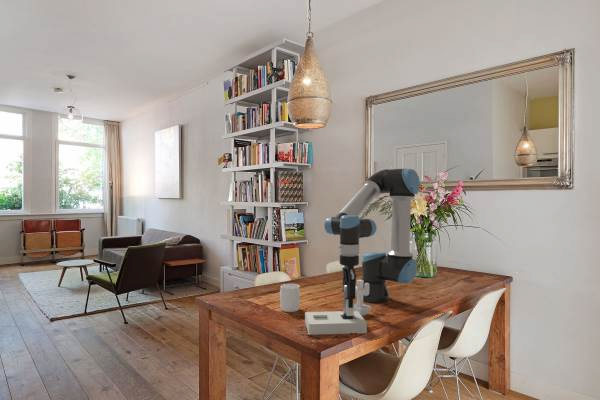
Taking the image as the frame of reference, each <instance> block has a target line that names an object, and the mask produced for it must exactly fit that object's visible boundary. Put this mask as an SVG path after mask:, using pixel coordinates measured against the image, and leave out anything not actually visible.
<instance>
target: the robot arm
mask: <svg viewBox="0 0 600 400" xmlns="http://www.w3.org/2000/svg"><path fill="white" fill-rule="evenodd" d="M420 188H421V181H420V176H419V175H418V173H417V171H416V170H415V169H412V168H393V169H390V168H389V169H386V168H385V169H382V170H379V171H377V172H375V173H374V174H372V175H370V176H369V177H368V178H367V179H366V180H365V181H364V182H363V183H362V186H361V188H360V189H359V190H358V192H356V194H355V195H353V197H352V198H351V199H350V200H349V201H348V202H347V203H346V204H345V206H343V208H342V209H341V210H340V211H339V212H338V213H337V215H335V216H331V217H326V219H325V221H324V224H323V225H324V229H325V232H326V233H327V234H330V235H335V236H339V245H338V249H339V254H340V255H339V264H340V265H341V266H344V267H342V268H341V269H342V292H343V293H344V285H345V284H347V298H345V299H347V300H346V315H347V316H354V304H355V302H354V301H355V299H356V297H355V290H356V285H357V274H356V269H355V267H356V266H359V264H360V256H359V254H360V239H363V238H369V237H372V236H374V235H375V234H376V233H377V230H378V229H377V223H376V222H375V221H374V220H373V219H371V218H360V215H361V214H362V213H363V211H364V210H365V209H366V208H367V206H368V205H369V204H370V203H371V202H372V201H373V200H374V199H376V198H378V197H380V195H381V194H389V198H390V199H391V200H392V209H391V231H390V232H391V238H390V250H389V251H388V252H387V253H386V252H385V251H384V252H383V251H376V252H375V251H374V252H366V253H364V254H363V255H362V258H361V259H362V261H361V280H363V281H364V284H363V288H365V283H369V295H368V296H364V295H363V302H367V303H375V304H376V303H385V302H388V301H390V295H389V291H388V288H387V284H386V282H387V281H389V282H394V283H399V284H405V285H406V284H411V283H412V282H413V280H414V279H415V277H416V274H417V272H418V264H417V261H416V259H413V254H412V252H411V251H410V243H411V242H410V241H411V216H412V215H411V213H412V210H411V209H412V201H413V199H415V195H416V194H418V193H419V192H420Z"/></svg>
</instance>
